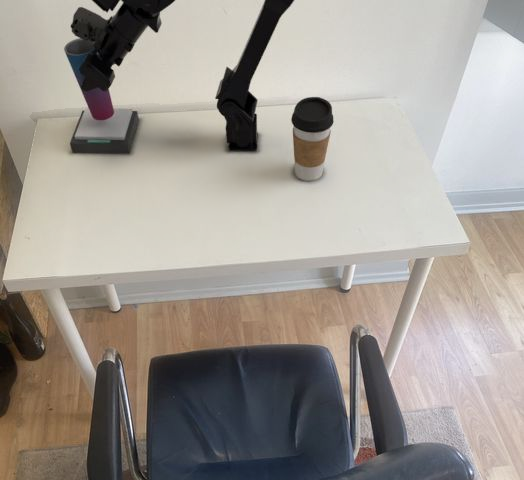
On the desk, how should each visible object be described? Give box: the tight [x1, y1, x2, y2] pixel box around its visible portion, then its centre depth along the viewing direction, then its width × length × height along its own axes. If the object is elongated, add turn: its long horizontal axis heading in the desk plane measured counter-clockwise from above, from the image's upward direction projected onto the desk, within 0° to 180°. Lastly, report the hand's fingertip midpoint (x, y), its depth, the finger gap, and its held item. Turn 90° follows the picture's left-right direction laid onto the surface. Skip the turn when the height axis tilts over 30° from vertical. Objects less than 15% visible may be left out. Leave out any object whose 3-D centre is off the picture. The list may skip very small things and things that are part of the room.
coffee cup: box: [290, 96, 335, 182], centre depth 111 cm, size 8×8×15 cm
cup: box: [63, 37, 115, 120], centre depth 116 cm, size 7×7×15 cm
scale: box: [69, 107, 140, 155], centre depth 124 cm, size 13×13×3 cm
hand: (87, 81), depth 116 cm, fingers closed on cup, 6 cm apart
